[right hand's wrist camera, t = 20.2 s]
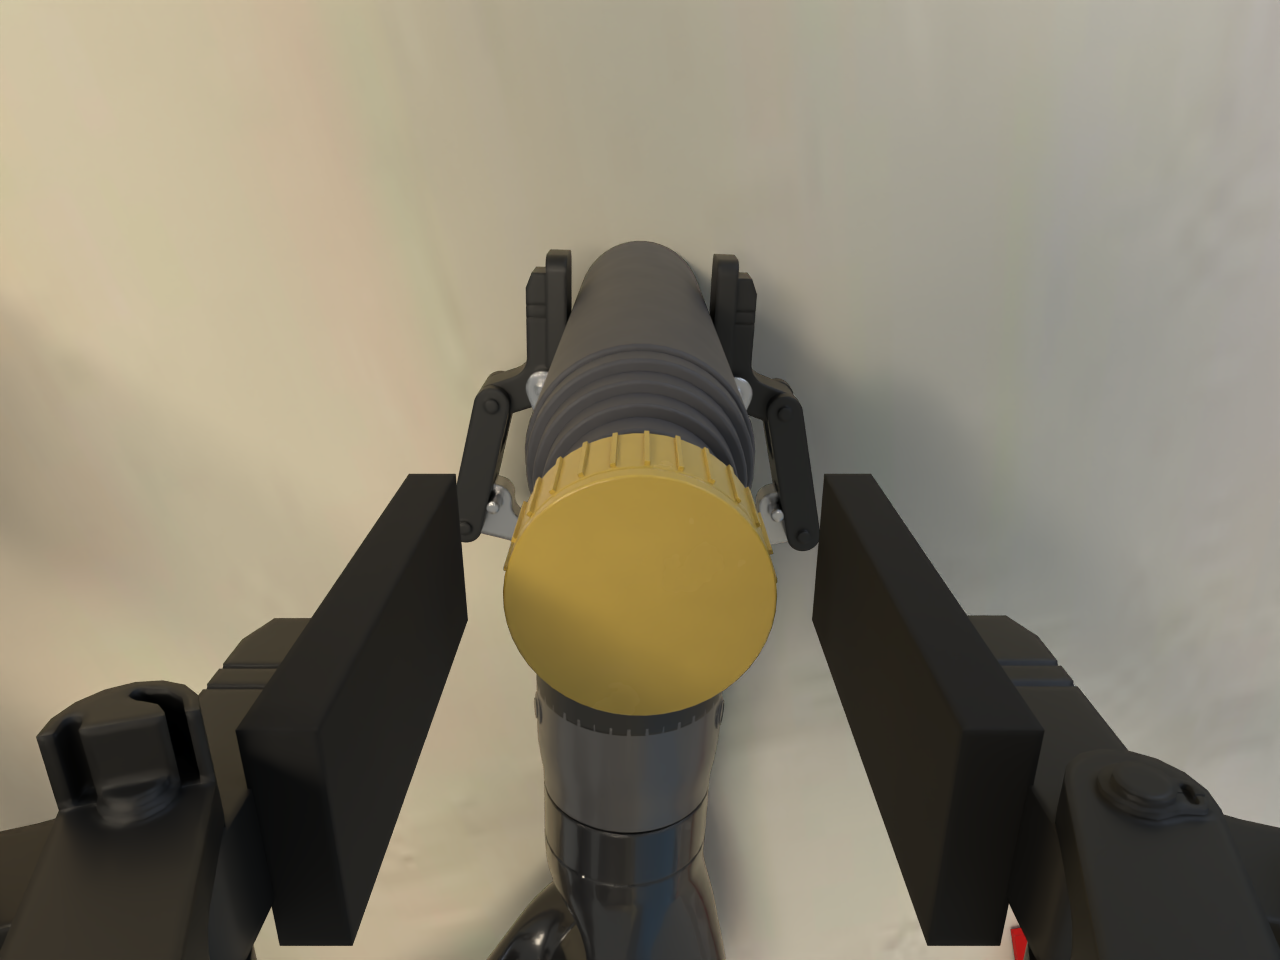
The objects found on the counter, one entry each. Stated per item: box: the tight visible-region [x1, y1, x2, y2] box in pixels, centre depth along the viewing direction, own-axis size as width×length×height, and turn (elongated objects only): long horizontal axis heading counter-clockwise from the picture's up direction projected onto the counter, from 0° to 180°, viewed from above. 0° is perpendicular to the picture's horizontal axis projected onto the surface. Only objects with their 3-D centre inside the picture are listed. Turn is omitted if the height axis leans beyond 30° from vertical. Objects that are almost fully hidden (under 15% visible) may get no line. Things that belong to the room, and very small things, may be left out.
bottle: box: [525, 241, 755, 494], centre depth 25 cm, size 5×5×24 cm
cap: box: [503, 431, 777, 716], centre depth 14 cm, size 4×4×2 cm
